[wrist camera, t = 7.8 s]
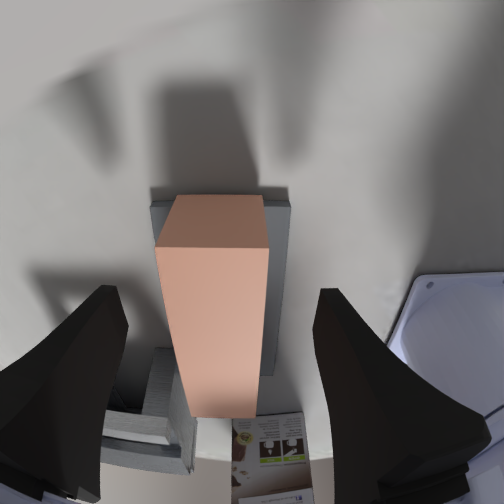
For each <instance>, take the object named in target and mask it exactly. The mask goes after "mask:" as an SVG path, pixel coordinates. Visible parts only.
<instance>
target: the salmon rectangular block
mask: <svg viewBox="0 0 504 504" xmlns="http://www.w3.org/2000/svg"><path fill="white" fill-rule="evenodd" d="M155 253H156V259H157V265H158V271H159V277H160V283H161V288H162V293H163V299H164V304H165V309H166V314H167V319H168V323H169V328H170V333H171V337H172V342H173V346H174V351H175V355H176V359H177V363H178V367H179V371H180V375H181V379H182V383H183V387H184V391H185V395H186V399H187V402H188V406H189V409H190V413H191V417H205V418H256V407H257V396H258V385H259V373H260V361H261V349H262V337H263V325H264V312H265V299H266V286H267V272H268V259H269V243H268V235H267V227H266V220H265V212H264V204H263V197H262V195H177V197H176V199H175V201H174V203H173V206H172V208H171V210H170V212H169V215H168V217H167V219H166V221H165V224H164V226H163V228H162V231H161V233H160V235H159V238H158V240H157V243H156V245H155Z"/></svg>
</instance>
